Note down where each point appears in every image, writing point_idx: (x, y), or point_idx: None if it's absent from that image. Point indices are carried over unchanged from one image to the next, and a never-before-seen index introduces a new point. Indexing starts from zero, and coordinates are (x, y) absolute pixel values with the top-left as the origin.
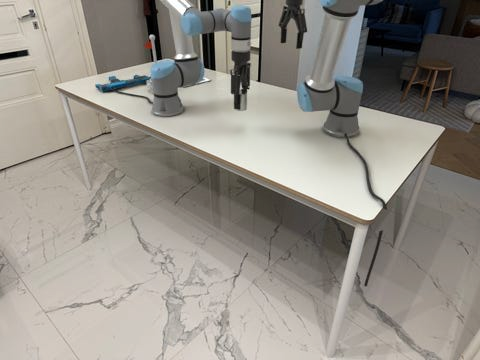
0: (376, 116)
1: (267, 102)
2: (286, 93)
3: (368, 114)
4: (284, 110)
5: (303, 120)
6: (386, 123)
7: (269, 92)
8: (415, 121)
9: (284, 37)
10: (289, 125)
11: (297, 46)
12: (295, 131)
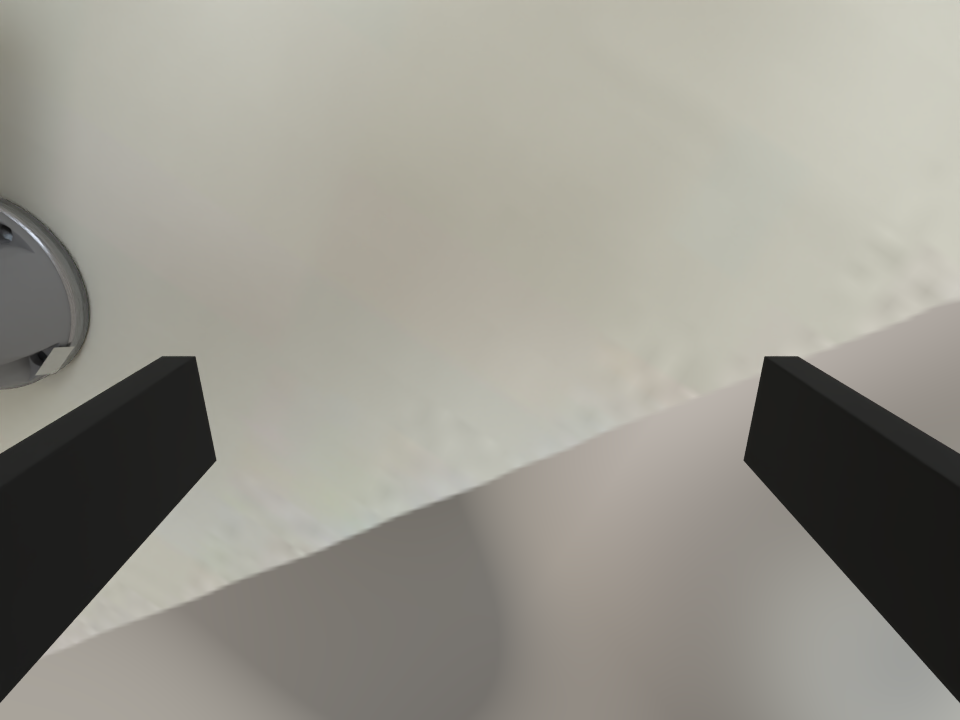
0: (133, 559)
1: (575, 133)
2: (656, 356)
3: (167, 546)
4: (384, 162)
5: (184, 180)
6: None
7: (743, 262)
8: None
9: (818, 483)
10: (129, 37)
11: (134, 378)
12: (24, 16)
